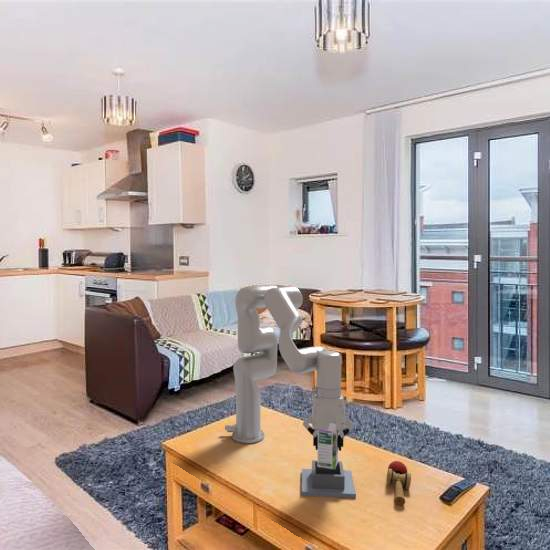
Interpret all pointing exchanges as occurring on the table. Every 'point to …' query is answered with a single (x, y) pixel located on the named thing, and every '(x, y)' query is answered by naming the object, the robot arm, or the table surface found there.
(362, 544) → the table surface
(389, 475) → the kendama
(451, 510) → the table surface
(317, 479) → the socket board
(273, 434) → the table surface
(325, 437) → the syrup box
